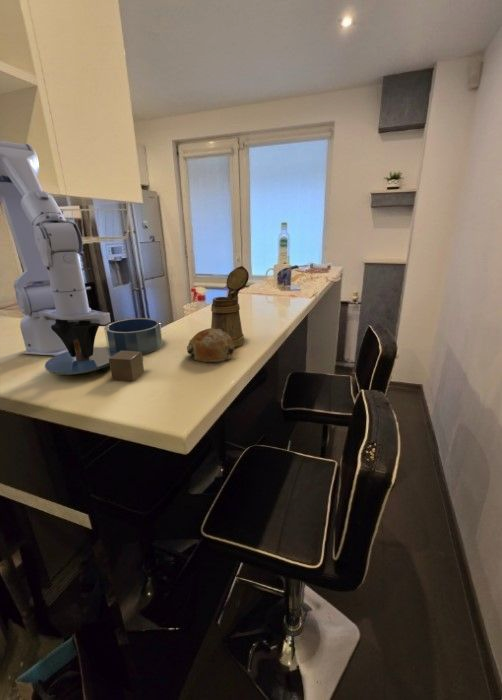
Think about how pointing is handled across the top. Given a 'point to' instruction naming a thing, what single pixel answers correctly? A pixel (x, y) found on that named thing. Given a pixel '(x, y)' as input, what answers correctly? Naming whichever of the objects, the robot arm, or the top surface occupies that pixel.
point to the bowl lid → (79, 361)
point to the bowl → (134, 335)
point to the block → (126, 365)
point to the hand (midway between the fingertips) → (82, 355)
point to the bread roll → (211, 346)
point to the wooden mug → (230, 307)
